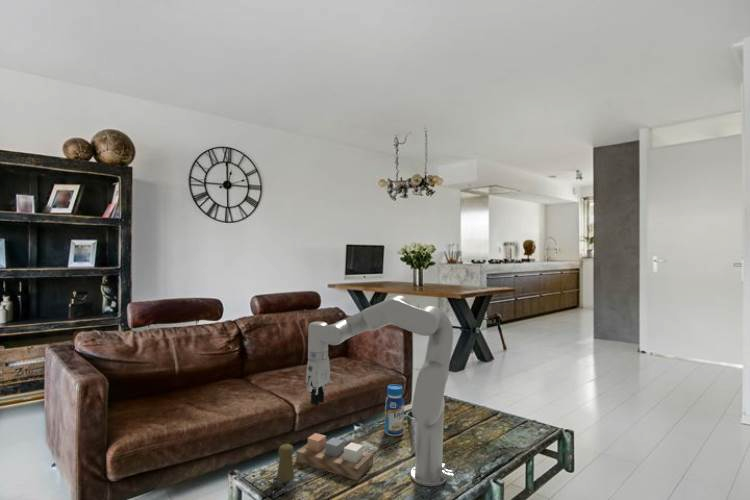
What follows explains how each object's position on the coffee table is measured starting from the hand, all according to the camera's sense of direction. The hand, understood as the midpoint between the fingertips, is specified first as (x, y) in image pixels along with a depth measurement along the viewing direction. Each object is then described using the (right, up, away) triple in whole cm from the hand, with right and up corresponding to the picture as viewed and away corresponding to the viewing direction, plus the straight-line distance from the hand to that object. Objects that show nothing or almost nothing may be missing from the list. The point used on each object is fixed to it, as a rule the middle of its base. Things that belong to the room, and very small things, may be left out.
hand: (317, 402), depth 163 cm
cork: (-9, -22, -13) cm, 27 cm away
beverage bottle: (+30, -21, +23) cm, 44 cm away
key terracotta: (0, -18, 0) cm, 18 cm away
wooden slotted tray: (+7, -21, -3) cm, 23 cm away
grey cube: (+7, -18, -3) cm, 20 cm away
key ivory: (+14, -18, -7) cm, 24 cm away
